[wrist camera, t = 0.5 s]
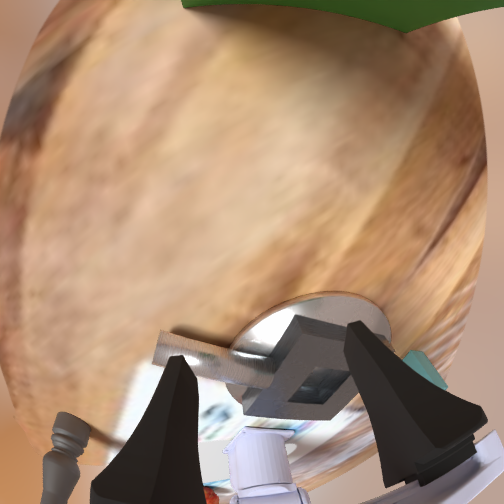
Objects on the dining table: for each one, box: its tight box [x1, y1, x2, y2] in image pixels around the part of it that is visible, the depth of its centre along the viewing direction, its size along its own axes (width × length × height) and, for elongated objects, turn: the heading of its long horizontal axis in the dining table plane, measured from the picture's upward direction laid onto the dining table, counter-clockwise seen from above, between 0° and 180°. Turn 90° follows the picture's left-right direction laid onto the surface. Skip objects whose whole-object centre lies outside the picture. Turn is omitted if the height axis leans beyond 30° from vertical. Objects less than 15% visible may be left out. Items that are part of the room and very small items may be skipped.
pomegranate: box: [203, 486, 219, 504], centre depth 41 cm, size 7×7×10 cm
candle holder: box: [41, 412, 91, 504], centre depth 18 cm, size 6×6×25 cm
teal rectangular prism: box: [402, 350, 448, 390], centre depth 26 cm, size 4×3×7 cm
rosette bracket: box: [152, 291, 395, 420], centre depth 24 cm, size 18×24×4 cm
